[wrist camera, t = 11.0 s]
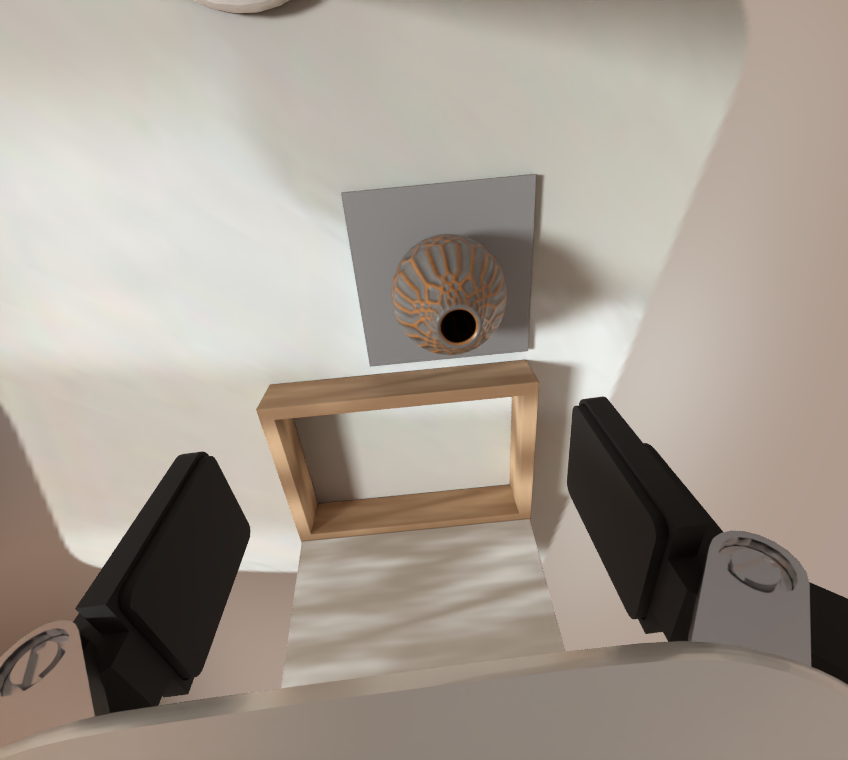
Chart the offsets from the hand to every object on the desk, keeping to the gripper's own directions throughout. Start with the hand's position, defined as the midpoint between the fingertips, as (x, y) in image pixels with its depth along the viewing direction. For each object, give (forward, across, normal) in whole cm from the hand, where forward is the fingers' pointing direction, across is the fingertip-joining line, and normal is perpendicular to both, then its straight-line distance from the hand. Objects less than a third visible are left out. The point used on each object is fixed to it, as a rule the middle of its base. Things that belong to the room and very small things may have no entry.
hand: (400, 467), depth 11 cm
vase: (+20, -3, +1) cm, 20 cm away
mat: (+20, -3, +2) cm, 20 cm away
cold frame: (+19, +2, +18) cm, 26 cm away
